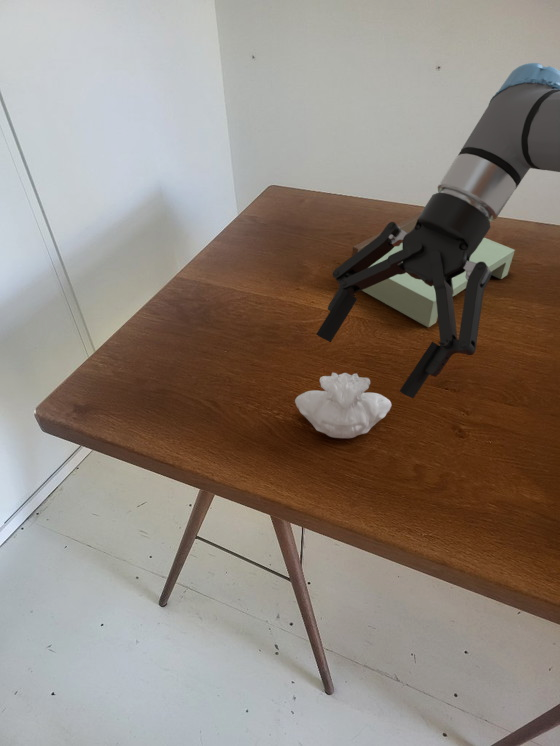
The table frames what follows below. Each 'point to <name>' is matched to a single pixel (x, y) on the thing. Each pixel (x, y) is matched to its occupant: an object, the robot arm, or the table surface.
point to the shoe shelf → (421, 297)
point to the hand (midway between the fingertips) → (362, 365)
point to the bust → (343, 406)
